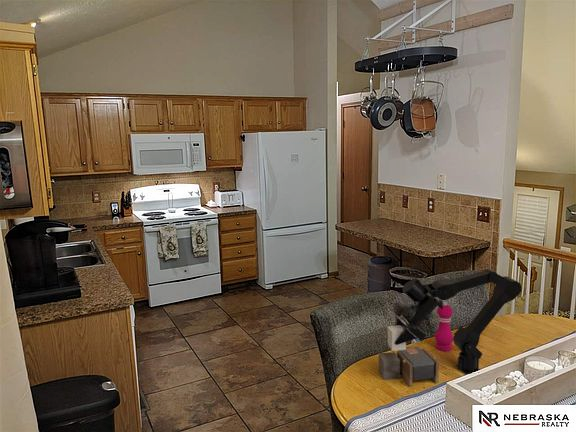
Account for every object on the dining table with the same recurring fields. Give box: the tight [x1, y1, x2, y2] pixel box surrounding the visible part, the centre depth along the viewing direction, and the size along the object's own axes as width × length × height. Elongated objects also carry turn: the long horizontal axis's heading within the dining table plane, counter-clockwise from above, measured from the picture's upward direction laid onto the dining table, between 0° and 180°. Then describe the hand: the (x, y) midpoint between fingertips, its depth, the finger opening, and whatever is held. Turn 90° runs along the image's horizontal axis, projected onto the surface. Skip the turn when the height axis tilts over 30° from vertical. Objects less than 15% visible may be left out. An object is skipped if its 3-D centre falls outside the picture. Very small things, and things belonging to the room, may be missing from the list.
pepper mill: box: [434, 301, 454, 352], centre depth 182 cm, size 7×7×20 cm
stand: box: [378, 351, 401, 380], centre depth 164 cm, size 6×6×7 cm
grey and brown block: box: [397, 346, 434, 381], centre depth 162 cm, size 8×12×6 cm, turn 10°
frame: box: [396, 347, 440, 388], centre depth 161 cm, size 12×11×8 cm
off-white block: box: [387, 325, 407, 352], centre depth 163 cm, size 5×6×7 cm
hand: (392, 340), depth 163 cm, fingers closed on off-white block, 5 cm apart
